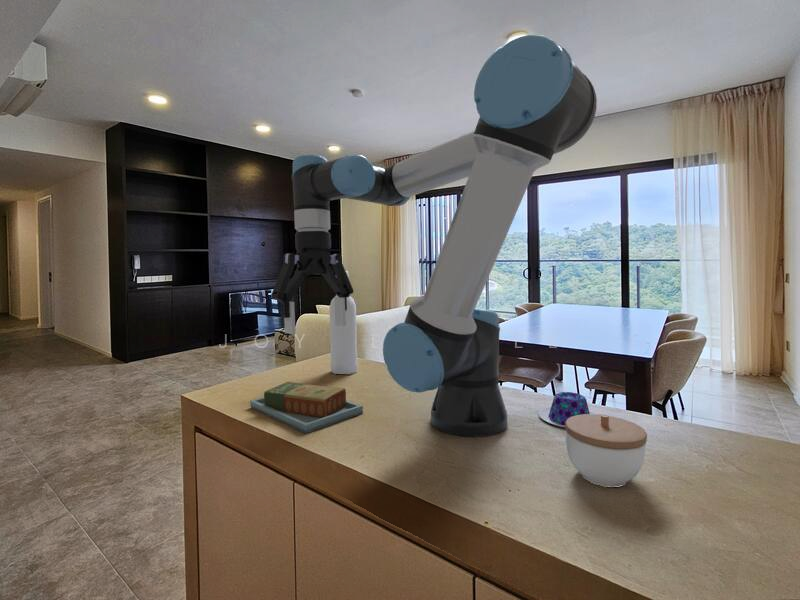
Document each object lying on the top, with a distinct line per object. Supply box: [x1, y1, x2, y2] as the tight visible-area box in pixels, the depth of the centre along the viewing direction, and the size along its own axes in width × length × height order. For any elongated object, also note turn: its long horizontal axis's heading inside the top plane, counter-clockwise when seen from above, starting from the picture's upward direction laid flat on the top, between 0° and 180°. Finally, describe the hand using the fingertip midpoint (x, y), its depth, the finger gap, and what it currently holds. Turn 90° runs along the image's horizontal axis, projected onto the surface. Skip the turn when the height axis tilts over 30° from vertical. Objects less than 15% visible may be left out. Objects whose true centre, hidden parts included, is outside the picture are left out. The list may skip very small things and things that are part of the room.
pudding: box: [538, 391, 594, 428], centre depth 85 cm, size 12×12×5 cm
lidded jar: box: [564, 413, 648, 487], centre depth 61 cm, size 11×11×9 cm
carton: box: [263, 381, 347, 418], centre depth 91 cm, size 8×16×4 cm, turn 66°
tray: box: [249, 396, 364, 434], centre depth 91 cm, size 22×14×2 cm
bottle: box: [329, 270, 358, 375], centre depth 123 cm, size 8×8×30 cm
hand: (316, 329), depth 91 cm, fingers open, 13 cm apart
